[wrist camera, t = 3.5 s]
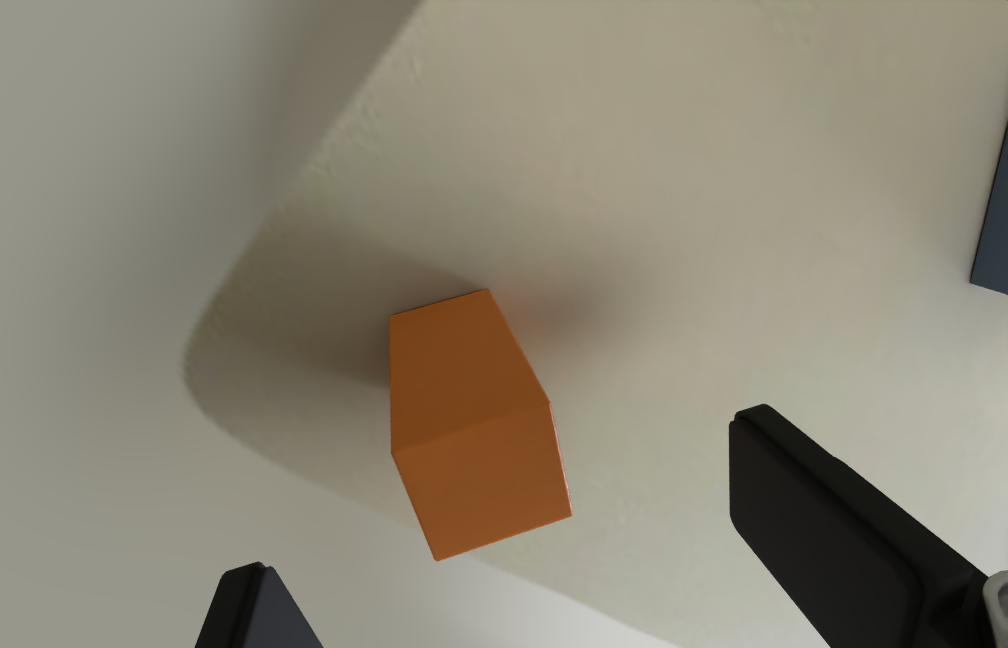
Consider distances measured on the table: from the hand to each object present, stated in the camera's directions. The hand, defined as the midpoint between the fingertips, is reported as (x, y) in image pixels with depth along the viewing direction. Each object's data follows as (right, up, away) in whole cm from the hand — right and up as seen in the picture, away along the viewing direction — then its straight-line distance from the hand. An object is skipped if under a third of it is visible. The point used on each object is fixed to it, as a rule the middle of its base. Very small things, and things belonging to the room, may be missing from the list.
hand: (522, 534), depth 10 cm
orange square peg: (-2, +3, +7) cm, 8 cm away
